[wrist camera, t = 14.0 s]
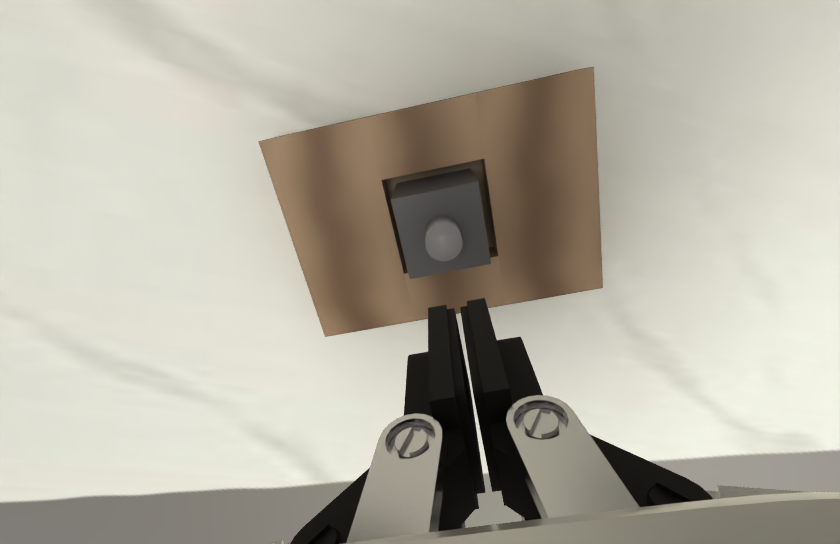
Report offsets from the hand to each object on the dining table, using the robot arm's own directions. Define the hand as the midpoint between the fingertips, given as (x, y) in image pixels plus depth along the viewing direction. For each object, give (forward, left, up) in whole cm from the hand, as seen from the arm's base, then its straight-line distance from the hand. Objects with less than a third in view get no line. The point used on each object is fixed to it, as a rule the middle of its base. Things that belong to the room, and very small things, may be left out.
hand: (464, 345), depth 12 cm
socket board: (0, 0, -19) cm, 19 cm away
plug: (0, 0, -18) cm, 18 cm away
